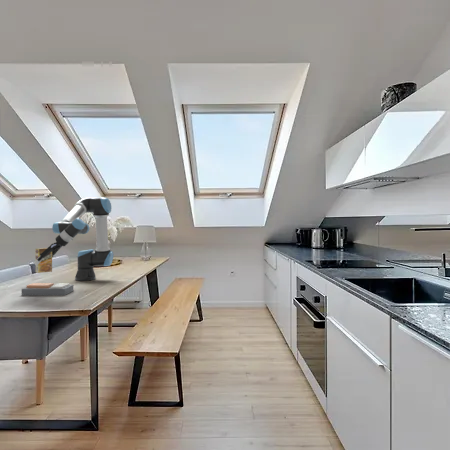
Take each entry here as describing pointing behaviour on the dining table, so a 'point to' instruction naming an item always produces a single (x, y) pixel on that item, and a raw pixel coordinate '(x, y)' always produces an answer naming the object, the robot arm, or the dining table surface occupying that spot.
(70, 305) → the dining table surface
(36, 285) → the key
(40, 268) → the candy box
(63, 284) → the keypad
